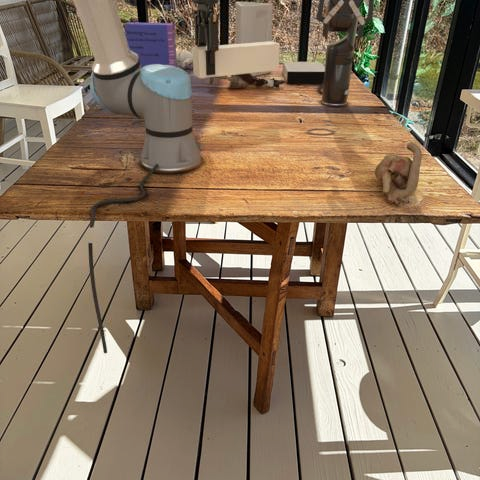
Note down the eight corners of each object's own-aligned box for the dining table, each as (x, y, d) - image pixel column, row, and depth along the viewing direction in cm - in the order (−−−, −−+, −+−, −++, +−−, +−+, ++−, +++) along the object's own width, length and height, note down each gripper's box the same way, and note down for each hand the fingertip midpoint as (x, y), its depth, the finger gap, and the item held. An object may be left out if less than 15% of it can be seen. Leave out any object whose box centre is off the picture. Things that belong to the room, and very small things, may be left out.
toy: (173, 75, 210) (172, 58, 207) (149, 64, 228) (148, 49, 224) (220, 69, 222) (220, 53, 218) (194, 59, 239) (193, 45, 236)
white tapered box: (273, 76, 210) (276, 6, 196) (239, 77, 209) (240, 6, 194) (266, 67, 226) (268, 2, 212) (235, 67, 225) (235, 1, 210)
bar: (199, 78, 145) (198, 50, 141) (193, 75, 149) (192, 47, 144) (278, 70, 155) (279, 43, 151) (270, 67, 159) (271, 41, 155)
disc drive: (287, 84, 198) (287, 71, 196) (281, 72, 218) (282, 61, 215) (329, 84, 199) (330, 72, 196) (320, 72, 218) (321, 61, 216)
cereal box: (177, 88, 189) (174, 22, 177) (175, 91, 185) (172, 24, 173) (134, 87, 190) (128, 21, 178) (131, 90, 186) (124, 23, 174)
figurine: (210, 87, 179) (288, 95, 182) (212, 65, 176) (291, 73, 180) (208, 84, 201) (278, 91, 205) (210, 64, 198) (280, 71, 202)
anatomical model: (387, 195, 117) (397, 211, 103) (362, 171, 116) (368, 184, 102) (428, 158, 112) (444, 169, 98) (402, 132, 112) (415, 140, 97)
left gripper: (230, -11, 130) (230, 77, 142) (205, -15, 144) (206, 66, 156) (205, -10, 127) (207, 80, 139) (181, -14, 141) (185, 68, 153)
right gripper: (378, -30, 121) (368, 38, 130) (322, -32, 124) (316, 36, 132) (380, -29, 115) (369, 42, 124) (320, -31, 117) (314, 40, 126)
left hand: (207, 72), depth 148 cm, fingers closed on bar, 5 cm apart
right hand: (341, 39), depth 128 cm, fingers open, 8 cm apart
